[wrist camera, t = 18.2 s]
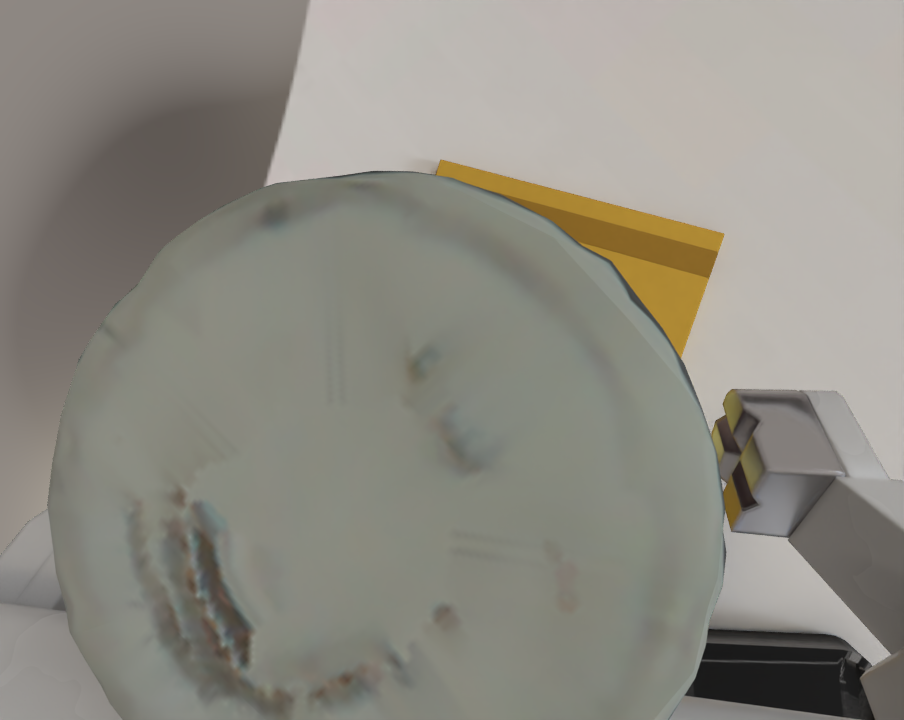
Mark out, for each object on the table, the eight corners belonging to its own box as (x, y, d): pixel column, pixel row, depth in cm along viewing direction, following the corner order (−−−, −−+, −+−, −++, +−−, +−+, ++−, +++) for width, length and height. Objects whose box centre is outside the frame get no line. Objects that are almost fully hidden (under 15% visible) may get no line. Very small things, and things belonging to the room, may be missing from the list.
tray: (585, 621, 22) (586, 626, 21) (328, 513, 24) (325, 516, 24) (721, 235, 21) (725, 233, 21) (441, 162, 23) (440, 158, 23)
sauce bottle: (432, 447, 23) (-221, 925, 3) (441, 314, 23) (-154, 1, 3) (576, 462, 22) (894, 1359, 2) (586, 321, 22) (994, -100, 2)
